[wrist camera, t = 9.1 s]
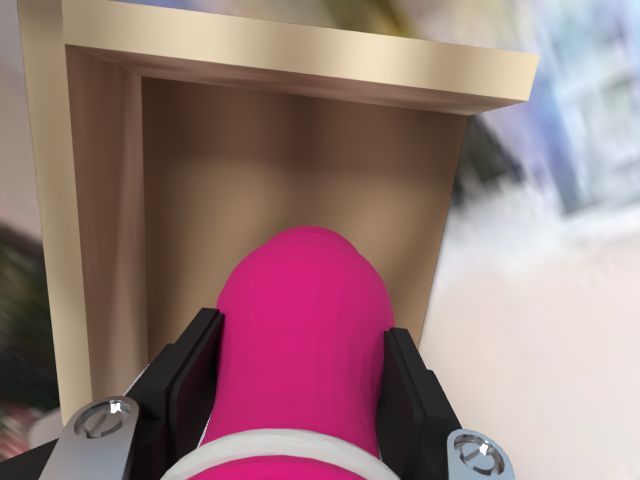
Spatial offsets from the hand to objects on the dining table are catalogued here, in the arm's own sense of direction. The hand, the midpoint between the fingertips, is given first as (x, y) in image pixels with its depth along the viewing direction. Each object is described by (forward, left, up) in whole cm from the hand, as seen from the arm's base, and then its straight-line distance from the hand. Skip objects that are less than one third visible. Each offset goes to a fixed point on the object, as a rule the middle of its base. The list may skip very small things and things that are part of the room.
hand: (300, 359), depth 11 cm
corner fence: (-2, +2, -9) cm, 9 cm away
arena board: (-2, +2, -9) cm, 9 cm away
